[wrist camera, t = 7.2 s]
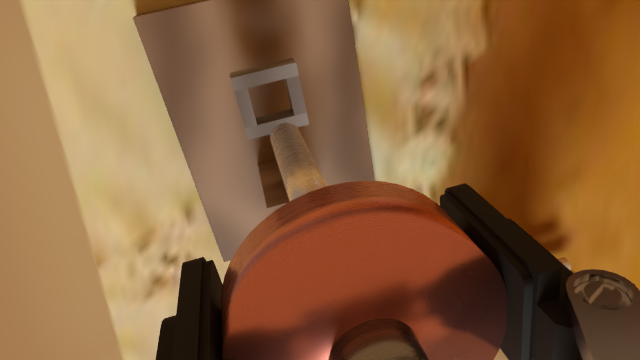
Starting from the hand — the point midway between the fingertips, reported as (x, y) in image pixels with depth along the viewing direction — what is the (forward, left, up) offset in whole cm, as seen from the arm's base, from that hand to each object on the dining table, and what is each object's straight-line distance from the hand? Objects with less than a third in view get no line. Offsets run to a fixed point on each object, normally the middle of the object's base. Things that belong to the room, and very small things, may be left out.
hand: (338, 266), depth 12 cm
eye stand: (0, +4, -23) cm, 23 cm away
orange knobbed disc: (0, 0, -10) cm, 10 cm away
